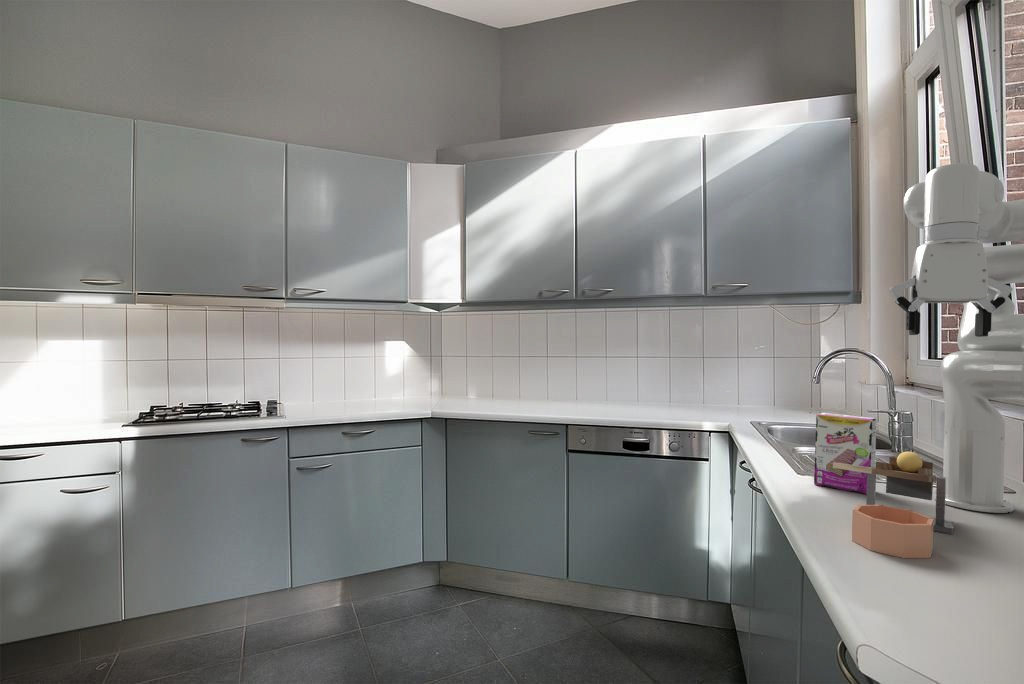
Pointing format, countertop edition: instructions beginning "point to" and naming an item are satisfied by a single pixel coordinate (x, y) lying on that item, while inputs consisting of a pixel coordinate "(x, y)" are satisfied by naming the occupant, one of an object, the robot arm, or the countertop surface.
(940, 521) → the stand
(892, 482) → the wooden tray
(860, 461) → the candy bar box
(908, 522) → the salmon orange faceted bowl
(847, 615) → the countertop surface
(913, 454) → the ball
